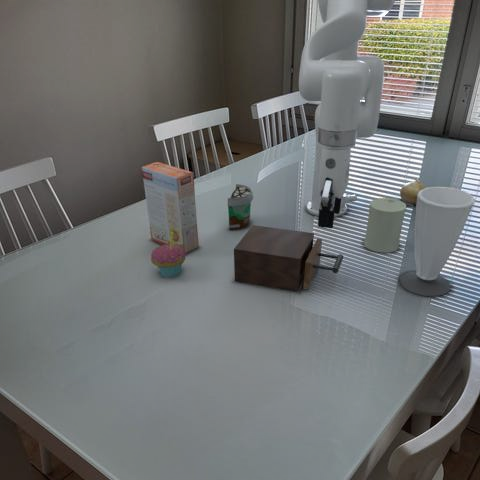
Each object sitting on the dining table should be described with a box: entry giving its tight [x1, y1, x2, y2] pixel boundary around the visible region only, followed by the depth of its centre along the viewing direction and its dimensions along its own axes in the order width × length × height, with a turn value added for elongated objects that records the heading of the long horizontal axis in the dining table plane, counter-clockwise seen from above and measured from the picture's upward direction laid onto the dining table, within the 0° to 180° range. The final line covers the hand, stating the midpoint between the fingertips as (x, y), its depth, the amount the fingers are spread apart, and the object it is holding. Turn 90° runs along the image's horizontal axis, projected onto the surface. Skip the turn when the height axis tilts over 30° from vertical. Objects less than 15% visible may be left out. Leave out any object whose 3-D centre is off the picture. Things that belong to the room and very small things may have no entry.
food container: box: [227, 183, 254, 231], centre depth 139 cm, size 12×6×10 cm, turn 168°
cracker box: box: [141, 161, 200, 254], centre depth 126 cm, size 14×6×21 cm, turn 47°
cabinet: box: [233, 224, 315, 293], centre depth 116 cm, size 16×14×9 cm
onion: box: [399, 178, 426, 205], centre depth 151 cm, size 8×8×7 cm
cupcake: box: [150, 229, 187, 278], centre depth 116 cm, size 9×8×12 cm
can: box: [363, 197, 407, 253], centre depth 126 cm, size 9×9×12 cm
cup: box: [399, 186, 476, 298], centre depth 107 cm, size 12×12×22 cm
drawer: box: [300, 238, 344, 290], centre depth 114 cm, size 20×13×7 cm, turn 70°
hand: (329, 219), depth 105 cm, fingers open, 7 cm apart
